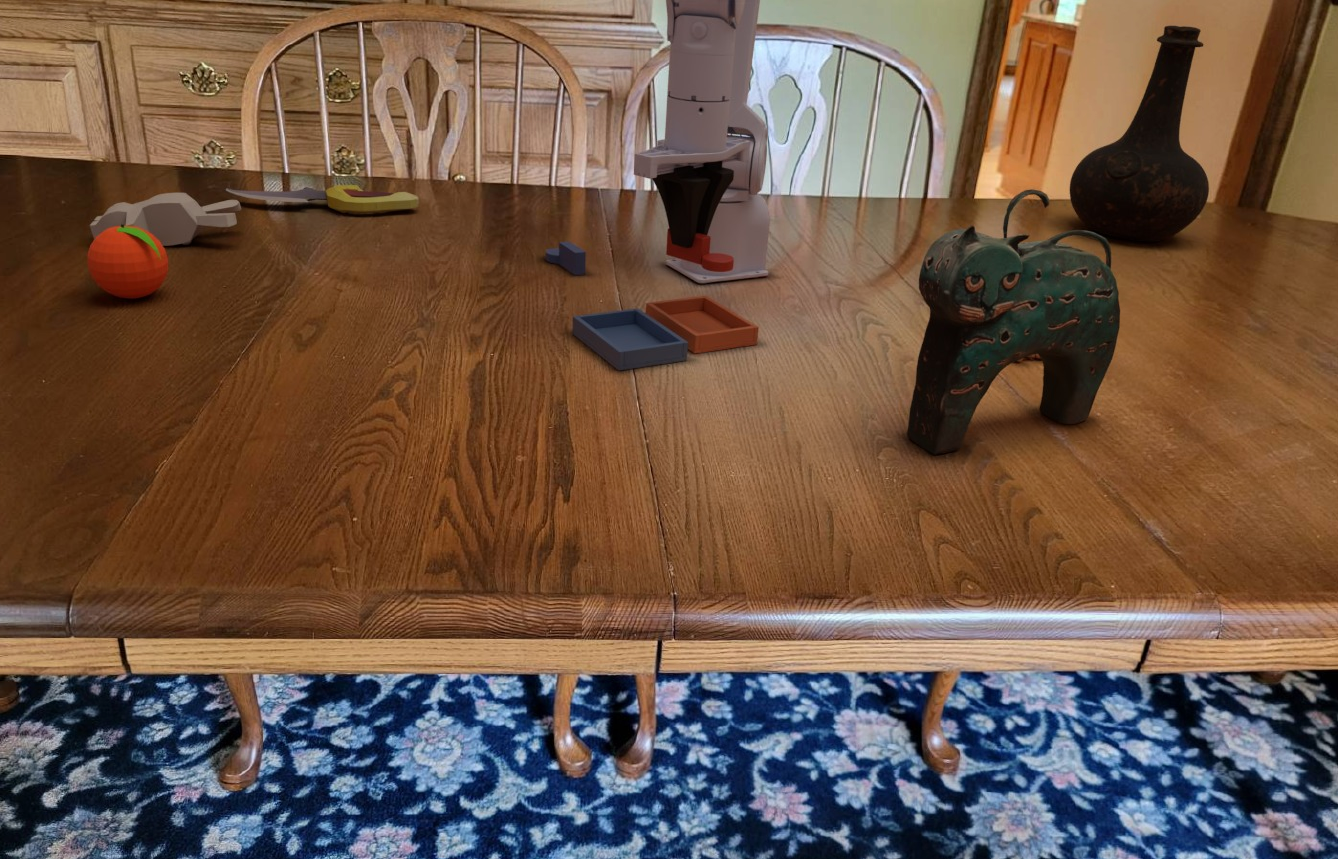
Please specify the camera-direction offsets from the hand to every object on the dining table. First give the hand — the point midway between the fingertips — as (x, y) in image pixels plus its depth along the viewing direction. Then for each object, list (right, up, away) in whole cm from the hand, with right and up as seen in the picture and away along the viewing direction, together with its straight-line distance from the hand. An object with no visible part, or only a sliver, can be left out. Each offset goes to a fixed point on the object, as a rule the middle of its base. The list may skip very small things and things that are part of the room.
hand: (688, 243), depth 101 cm
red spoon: (+1, -2, 0) cm, 2 cm away
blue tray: (-6, -10, -3) cm, 12 cm away
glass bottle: (+64, +10, +50) cm, 81 cm away
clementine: (-53, -5, +1) cm, 54 cm away
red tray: (+1, -8, +2) cm, 9 cm away
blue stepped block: (-13, +1, +19) cm, 23 cm away
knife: (-47, +11, +35) cm, 60 cm away
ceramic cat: (+25, -18, -14) cm, 34 cm away
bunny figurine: (-58, +3, +18) cm, 61 cm away
